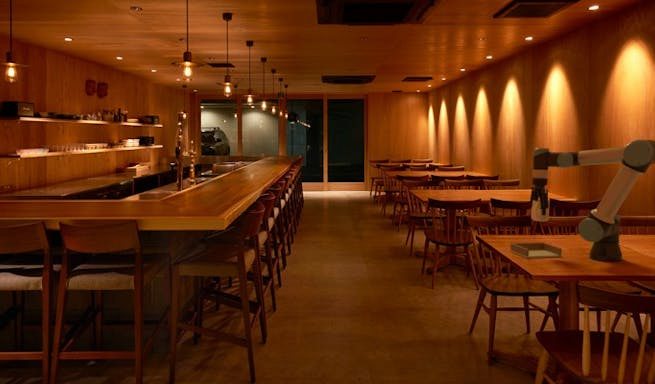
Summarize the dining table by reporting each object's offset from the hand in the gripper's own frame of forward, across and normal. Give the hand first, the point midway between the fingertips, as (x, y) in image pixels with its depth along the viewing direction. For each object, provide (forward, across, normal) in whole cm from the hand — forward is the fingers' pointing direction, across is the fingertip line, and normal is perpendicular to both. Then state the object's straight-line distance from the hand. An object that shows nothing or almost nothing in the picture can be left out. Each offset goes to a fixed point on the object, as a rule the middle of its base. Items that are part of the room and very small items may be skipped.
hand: (538, 220), depth 304 cm
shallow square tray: (+18, -2, +2) cm, 18 cm away
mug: (0, -1, 0) cm, 1 cm away
